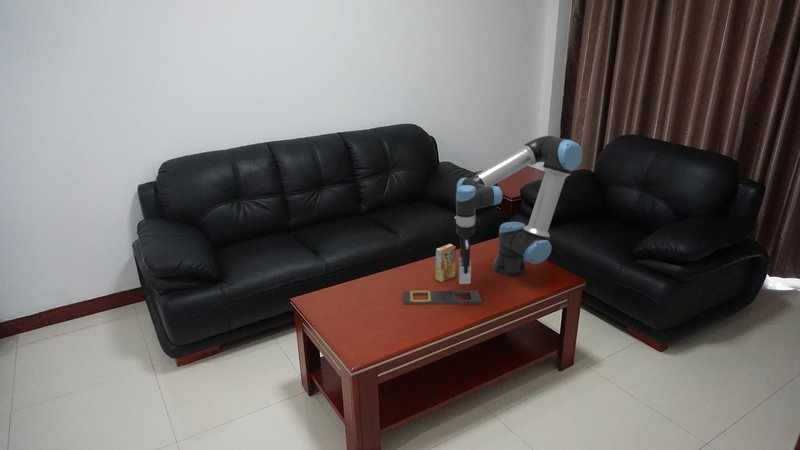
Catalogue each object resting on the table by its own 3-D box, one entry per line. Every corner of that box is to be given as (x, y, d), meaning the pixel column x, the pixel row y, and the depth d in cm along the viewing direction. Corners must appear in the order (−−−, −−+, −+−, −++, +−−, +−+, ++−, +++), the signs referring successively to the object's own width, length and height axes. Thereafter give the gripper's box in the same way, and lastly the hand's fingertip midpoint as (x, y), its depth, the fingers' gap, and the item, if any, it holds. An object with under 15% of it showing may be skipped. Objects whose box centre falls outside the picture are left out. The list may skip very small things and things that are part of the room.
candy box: (448, 273, 230) (449, 243, 225) (455, 276, 227) (456, 246, 222) (435, 279, 225) (435, 248, 220) (441, 282, 222) (442, 251, 216)
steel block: (469, 278, 208) (469, 257, 204) (470, 283, 203) (471, 261, 200) (458, 278, 208) (458, 257, 204) (459, 283, 204) (459, 262, 200)
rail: (478, 293, 212) (478, 290, 212) (481, 303, 204) (481, 300, 203) (403, 293, 213) (403, 290, 212) (403, 304, 204) (403, 301, 204)
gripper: (453, 216, 204) (453, 267, 213) (458, 232, 188) (457, 286, 197) (472, 216, 204) (471, 266, 213) (478, 232, 188) (476, 286, 197)
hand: (464, 276), depth 205 cm, fingers closed on steel block, 4 cm apart
